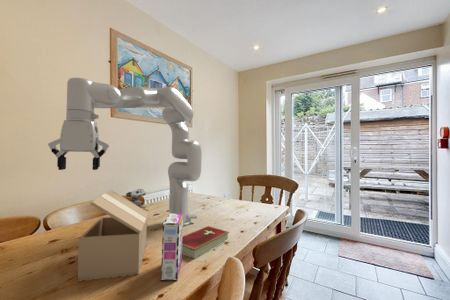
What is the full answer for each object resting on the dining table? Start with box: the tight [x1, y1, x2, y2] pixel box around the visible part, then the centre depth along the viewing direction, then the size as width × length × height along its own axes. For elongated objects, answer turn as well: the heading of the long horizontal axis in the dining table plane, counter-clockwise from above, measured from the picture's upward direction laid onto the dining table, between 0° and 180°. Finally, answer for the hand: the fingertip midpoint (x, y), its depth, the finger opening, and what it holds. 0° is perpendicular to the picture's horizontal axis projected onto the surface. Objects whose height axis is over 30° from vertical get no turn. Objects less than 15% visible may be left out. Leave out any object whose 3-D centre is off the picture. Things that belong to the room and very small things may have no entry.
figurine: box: [125, 188, 147, 210], centre depth 120 cm, size 9×12×15 cm
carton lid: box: [90, 189, 149, 234], centre depth 73 cm, size 16×20×1 cm
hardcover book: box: [182, 225, 230, 259], centre depth 86 cm, size 12×21×4 cm, turn 144°
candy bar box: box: [160, 213, 184, 281], centre depth 67 cm, size 11×5×16 cm, turn 5°
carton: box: [77, 216, 148, 282], centre depth 72 cm, size 16×20×12 cm
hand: (79, 169), depth 70 cm, fingers open, 9 cm apart
